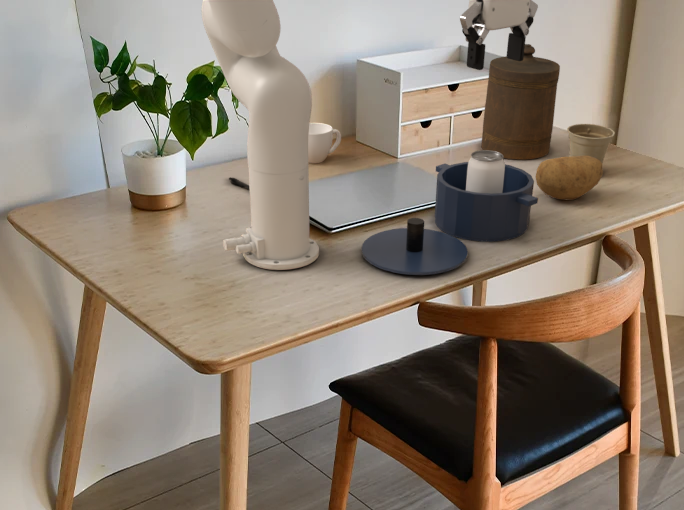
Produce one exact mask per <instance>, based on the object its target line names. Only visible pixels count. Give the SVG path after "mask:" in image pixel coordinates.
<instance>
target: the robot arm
mask: <svg viewBox="0 0 684 510" xmlns="http://www.w3.org/2000/svg"><path fill="white" fill-rule="evenodd" d="M538 8H539V6H538V4H537V3H536V2H535V1H533V0H468V8H467V9H466V10H465V11H464V12H463V13H462V14H460V16H459V22H460V25H461V28H462V30H461V31H462V34H463V36H464V37H465V42H467V54H466V67H467V68H470V69H474V70H477V71H482V70H483V69H484V68H485V67H484V66H485V56H486V44H485V43H484V41H485V40H486V38H487V36H488V35H489V32H490V31H496V30H497V31H498V30H502V29H508V28H510V31H511V32H509V33H508V37H507V48H506V56H507V58H508V59H512V60H516V61H523V57H524V48H525V44H526V38H527V36H528V35H529V34H530V28H531V27H532V25H533V24H534V18H535V16H536V13H537V11H538ZM200 11H201V19H202V24H203V27H204V30H205V33H206V36H207V38H208V41H209V43H210V45H211V47H212V51H213V52H214V55H215V57H216V60H217V62H218V64H219V66H220V68H221V71H222V73H223V76H224V78H225V80H226V82H227V85H228V87H229V89H230V91H231V93H232V94H233V96H234V97H235V98H236V99H237V100H238V101H239V103H241V104H242V105H243V106H244V107H245V108H246V109H247V111H248V129H247V140H246V157H247V166H248V168H247V169H248V185H249V189H250V191H249V207H250V209H249V210H250V226H249V227H245V233H243V234H241V235H240V236H237V237H230V238H224V239H223V240H222V245H223V249H224V251H225V252H229V251H233V250H235V252H236V254H237V255H241V254H242V255H243V258H244V260H245V261H246V262H247V263H249V264H250V265H252V266H255V267H257V268H261V269H265V270H273V271H289V270H294V269H299V268H302V267H306V266H308V265H311V264H312V263H314V262H315V261H316V260H317V259H318V258H319V255H320V247H319V244H318V243H317V242H316V241H315V240H314V239H312V238H310V178H309V177H310V171H309V168H310V167H309V162H308V134H309V124H310V123H311V115H312V109H313V108H312V107H313V97H312V95H313V94H312V89H311V86H310V83H309V81H308V79H307V77H306V76H305V74H304V73H303V72H302V71H301V69H300V68H298V67H297V65H295V64H294V63H293V62H292V61H291V62H290V61H289V60H288V59H287V58H285V57H283V56H281V54H280V53H279V52H280V51H279V50H278V47H277V44H278V42H279V39H280V35H281V29H282V27H281V20H280V15H279V12H278V9H277V6H276V4H275V2H274V0H202V3H201V10H200ZM478 32H479V33H478Z"/></svg>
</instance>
